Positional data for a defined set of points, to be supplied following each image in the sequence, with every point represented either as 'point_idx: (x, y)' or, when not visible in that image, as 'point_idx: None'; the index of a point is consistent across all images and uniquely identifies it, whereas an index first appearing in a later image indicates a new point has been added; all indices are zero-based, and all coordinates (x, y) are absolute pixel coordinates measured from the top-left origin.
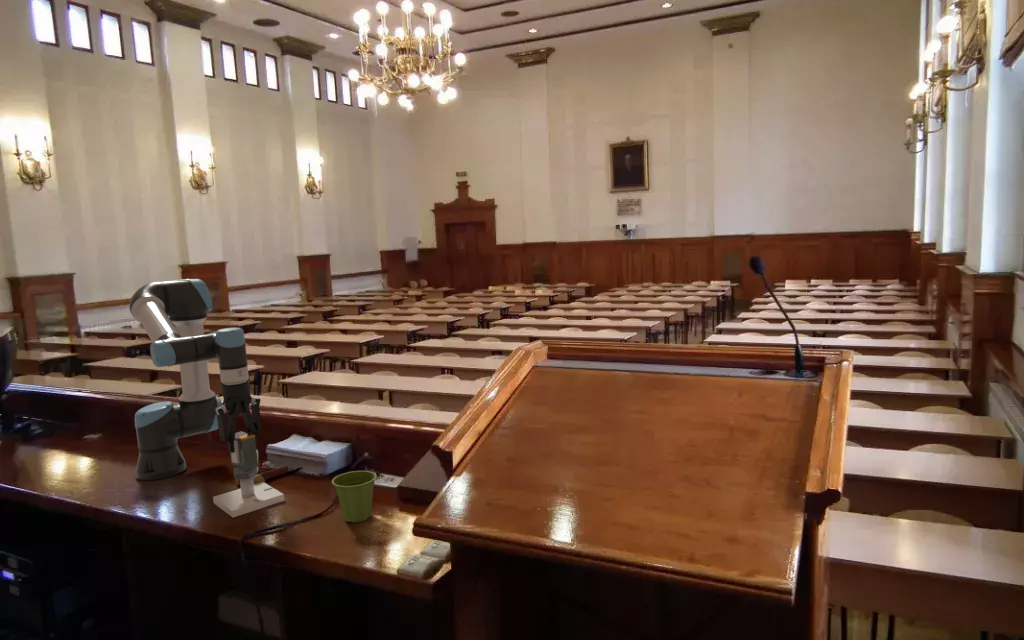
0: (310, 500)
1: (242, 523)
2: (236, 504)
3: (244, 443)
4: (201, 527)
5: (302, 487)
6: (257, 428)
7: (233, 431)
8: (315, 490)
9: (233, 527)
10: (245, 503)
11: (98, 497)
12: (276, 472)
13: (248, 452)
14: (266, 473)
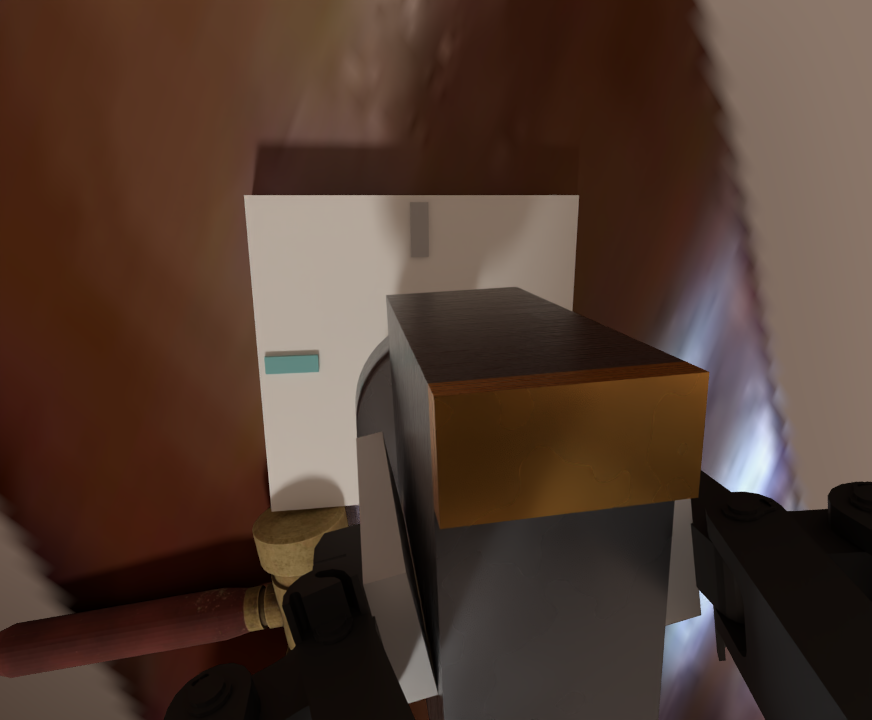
0: (109, 46)
1: (561, 65)
2: (523, 272)
3: (602, 350)
4: (713, 206)
5: (75, 319)
6: (250, 717)
7: (825, 616)
8: (16, 194)
9: (615, 53)
10: (481, 244)
11: None
12: (143, 613)
13: (507, 322)
14: (208, 613)
